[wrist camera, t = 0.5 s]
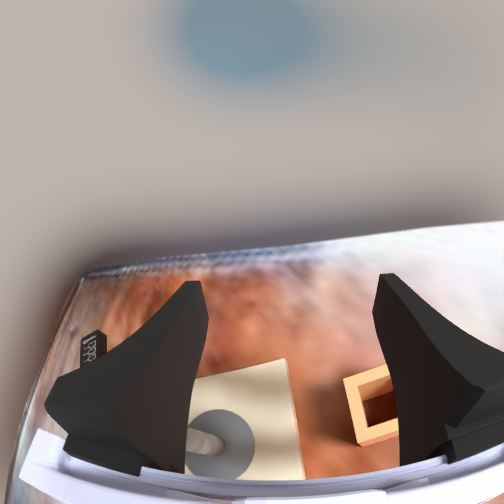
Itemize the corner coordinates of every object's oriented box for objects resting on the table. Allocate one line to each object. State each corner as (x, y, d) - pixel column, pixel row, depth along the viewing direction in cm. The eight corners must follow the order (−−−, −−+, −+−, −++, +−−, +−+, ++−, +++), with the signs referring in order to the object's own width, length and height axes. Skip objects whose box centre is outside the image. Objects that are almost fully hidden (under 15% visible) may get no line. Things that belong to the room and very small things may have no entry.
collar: (418, 427, 20) (427, 418, 16) (362, 446, 21) (357, 442, 17) (403, 377, 23) (408, 355, 19) (351, 395, 25) (342, 378, 21)
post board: (310, 512, 18) (291, 523, 14) (160, 513, 22) (121, 513, 18) (287, 361, 30) (266, 338, 25) (159, 388, 33) (126, 370, 29)
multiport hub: (92, 425, 33) (80, 421, 31) (90, 345, 43) (80, 338, 42) (113, 419, 33) (100, 414, 31) (108, 335, 43) (98, 328, 42)
